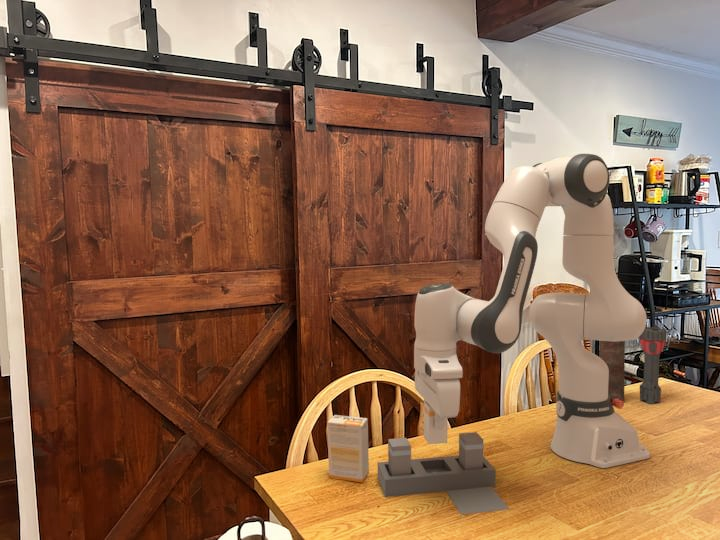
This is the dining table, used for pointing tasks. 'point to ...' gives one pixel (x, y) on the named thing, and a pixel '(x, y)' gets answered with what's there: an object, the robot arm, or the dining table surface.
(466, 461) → the twin plug
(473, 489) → the mat
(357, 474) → the supplement box
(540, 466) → the dining table surface
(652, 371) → the flashlight
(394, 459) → the twin plug
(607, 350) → the brown tall block
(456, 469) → the strip
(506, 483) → the dining table surface
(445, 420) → the plug
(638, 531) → the dining table surface
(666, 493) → the dining table surface
